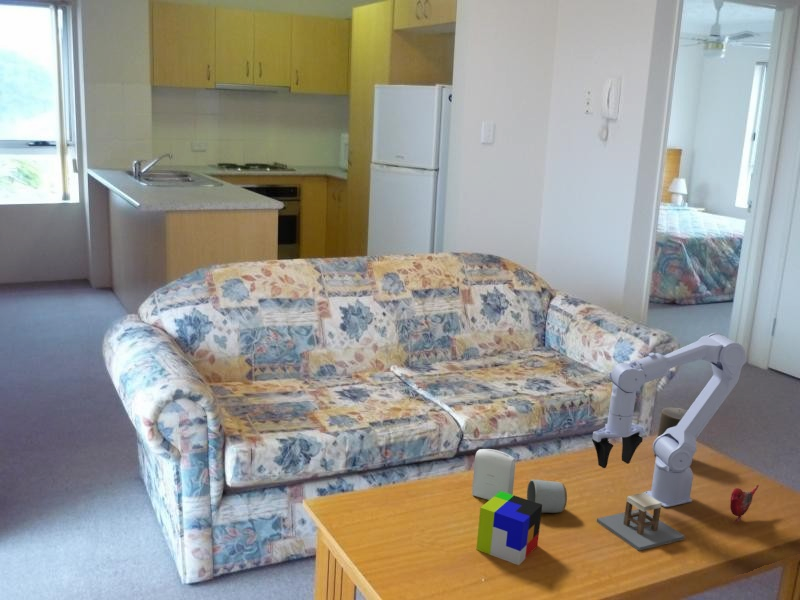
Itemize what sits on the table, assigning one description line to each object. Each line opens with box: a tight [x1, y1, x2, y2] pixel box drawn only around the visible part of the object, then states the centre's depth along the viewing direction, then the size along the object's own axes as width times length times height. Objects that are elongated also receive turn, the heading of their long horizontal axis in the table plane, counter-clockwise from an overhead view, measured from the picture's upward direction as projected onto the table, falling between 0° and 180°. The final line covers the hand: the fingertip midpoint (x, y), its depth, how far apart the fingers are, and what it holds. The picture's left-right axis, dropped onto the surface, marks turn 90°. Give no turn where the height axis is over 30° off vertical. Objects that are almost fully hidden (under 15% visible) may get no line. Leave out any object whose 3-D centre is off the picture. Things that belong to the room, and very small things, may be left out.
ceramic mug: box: [526, 479, 568, 514], centre depth 200 cm, size 11×8×8 cm
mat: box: [596, 508, 686, 552], centre depth 192 cm, size 14×14×1 cm
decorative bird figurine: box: [729, 484, 759, 524], centre depth 200 cm, size 3×18×10 cm, turn 137°
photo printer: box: [471, 448, 516, 501], centre depth 202 cm, size 10×4×12 cm, turn 63°
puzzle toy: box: [475, 491, 542, 566], centre depth 180 cm, size 10×10×10 cm
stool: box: [623, 492, 662, 535], centre depth 191 cm, size 5×5×7 cm
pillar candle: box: [654, 407, 688, 459], centre depth 233 cm, size 10×10×15 cm
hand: (613, 464), depth 205 cm, fingers open, 7 cm apart
